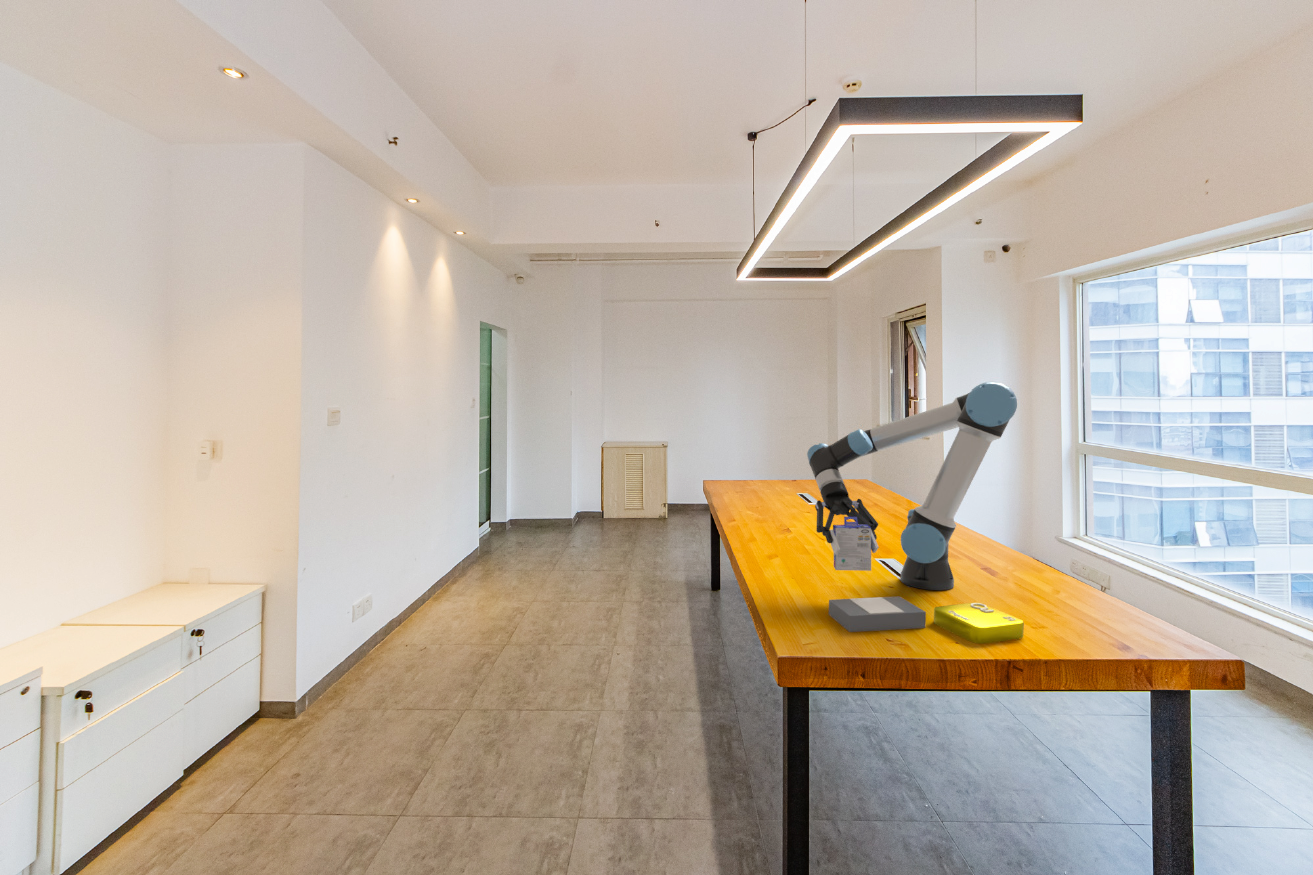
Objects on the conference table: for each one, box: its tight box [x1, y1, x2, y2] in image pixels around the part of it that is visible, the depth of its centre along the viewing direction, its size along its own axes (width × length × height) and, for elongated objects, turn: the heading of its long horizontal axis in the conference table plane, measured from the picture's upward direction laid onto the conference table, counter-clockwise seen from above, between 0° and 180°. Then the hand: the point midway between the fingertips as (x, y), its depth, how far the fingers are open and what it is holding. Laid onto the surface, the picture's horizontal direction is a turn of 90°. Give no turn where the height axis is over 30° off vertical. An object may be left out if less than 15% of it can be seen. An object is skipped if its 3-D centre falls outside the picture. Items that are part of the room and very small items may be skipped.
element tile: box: [933, 601, 1025, 645], centre depth 144 cm, size 15×15×5 cm
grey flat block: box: [828, 596, 927, 633], centre depth 150 cm, size 20×12×4 cm, turn 98°
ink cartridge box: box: [832, 516, 872, 572], centre depth 164 cm, size 10×6×14 cm, turn 82°
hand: (856, 551), depth 162 cm, fingers closed on ink cartridge box, 10 cm apart
